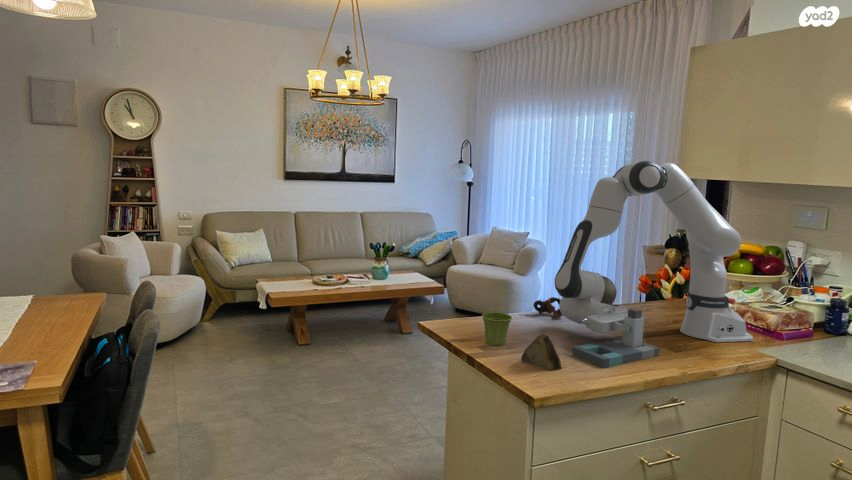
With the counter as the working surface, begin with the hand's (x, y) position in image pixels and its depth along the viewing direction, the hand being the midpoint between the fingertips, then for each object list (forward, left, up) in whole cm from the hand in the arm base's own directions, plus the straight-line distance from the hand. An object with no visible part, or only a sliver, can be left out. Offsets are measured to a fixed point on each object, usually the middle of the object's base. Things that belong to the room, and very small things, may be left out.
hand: (636, 328), depth 172 cm
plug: (0, -1, -8) cm, 8 cm away
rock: (+32, +13, -8) cm, 35 cm away
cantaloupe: (-2, -46, -8) cm, 47 cm away
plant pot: (+42, -6, -8) cm, 43 cm away
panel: (+7, +3, -8) cm, 11 cm away
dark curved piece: (+17, -40, -8) cm, 44 cm away
